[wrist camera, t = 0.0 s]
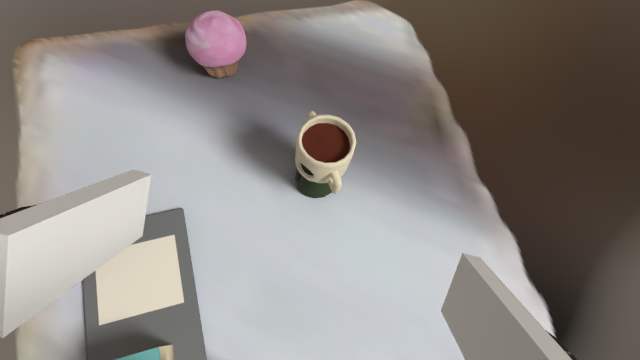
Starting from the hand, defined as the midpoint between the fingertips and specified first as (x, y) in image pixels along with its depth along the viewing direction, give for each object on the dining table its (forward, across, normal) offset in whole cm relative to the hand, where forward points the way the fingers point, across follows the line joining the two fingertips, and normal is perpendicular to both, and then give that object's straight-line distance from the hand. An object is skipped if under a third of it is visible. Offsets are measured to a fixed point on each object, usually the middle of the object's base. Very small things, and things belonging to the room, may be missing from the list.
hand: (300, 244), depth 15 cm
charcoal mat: (+25, +16, +27) cm, 40 cm away
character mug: (+40, 0, +7) cm, 40 cm away
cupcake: (+49, +20, -6) cm, 53 cm away
